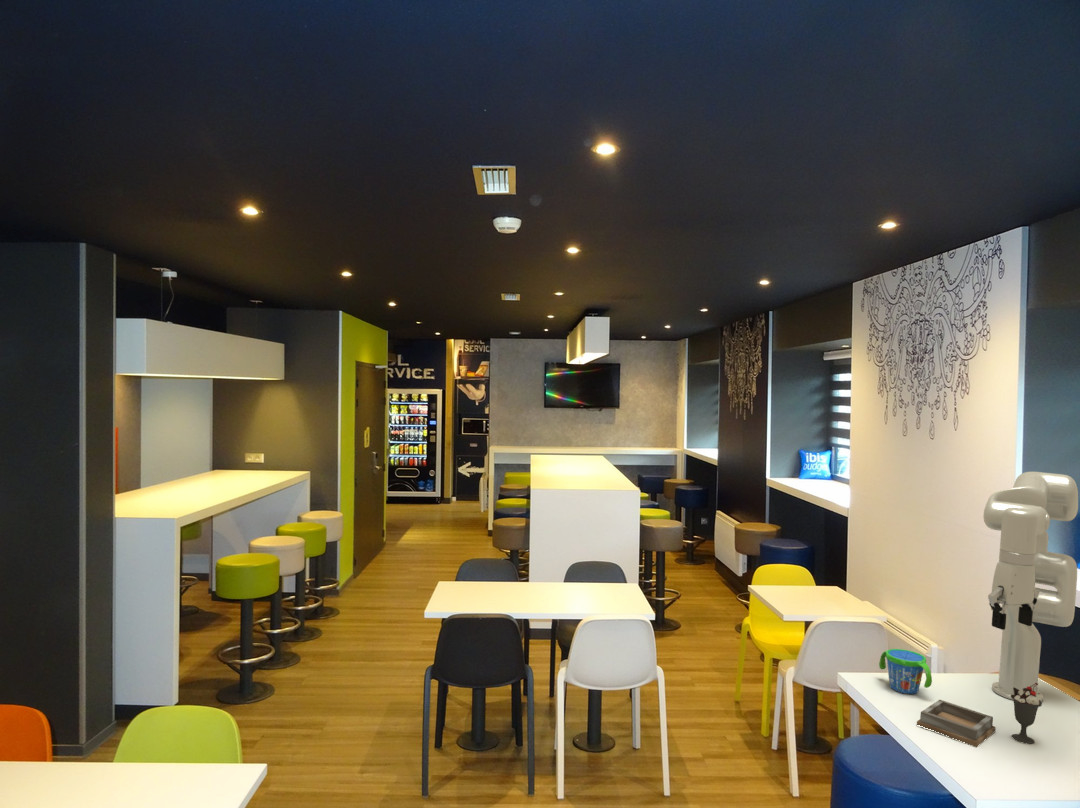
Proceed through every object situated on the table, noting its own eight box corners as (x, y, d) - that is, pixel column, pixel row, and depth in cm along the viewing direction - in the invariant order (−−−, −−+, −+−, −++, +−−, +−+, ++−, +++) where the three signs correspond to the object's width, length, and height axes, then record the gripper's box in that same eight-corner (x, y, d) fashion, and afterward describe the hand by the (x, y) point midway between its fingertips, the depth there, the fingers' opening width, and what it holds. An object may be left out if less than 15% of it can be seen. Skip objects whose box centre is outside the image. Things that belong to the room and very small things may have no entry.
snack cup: (868, 680, 225) (871, 646, 225) (896, 677, 229) (898, 644, 228) (911, 702, 210) (914, 666, 210) (940, 699, 214) (942, 663, 214)
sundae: (1043, 747, 187) (1048, 687, 187) (1013, 743, 189) (1018, 683, 188) (1032, 735, 194) (1036, 677, 193) (1003, 731, 195) (1007, 673, 195)
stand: (937, 711, 205) (938, 698, 205) (995, 731, 195) (996, 717, 195) (916, 725, 196) (917, 711, 196) (976, 747, 185) (977, 732, 185)
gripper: (1025, 552, 196) (1020, 618, 197) (978, 556, 189) (973, 624, 190) (1054, 560, 189) (1049, 627, 190) (1007, 564, 182) (1002, 634, 183)
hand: (1011, 626), depth 190 cm, fingers open, 9 cm apart
